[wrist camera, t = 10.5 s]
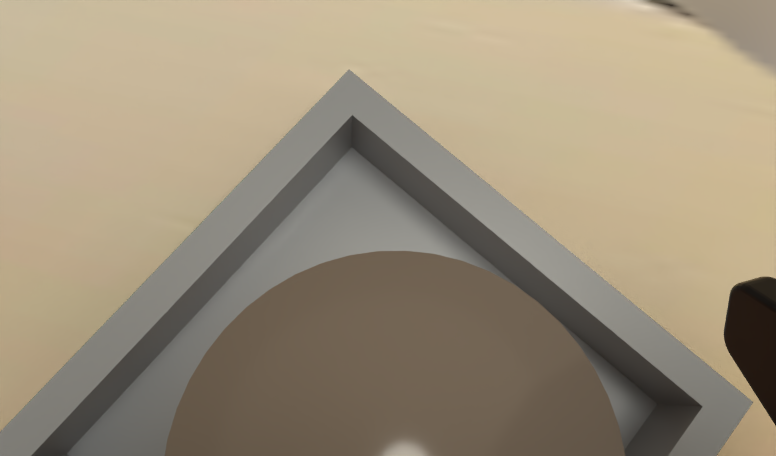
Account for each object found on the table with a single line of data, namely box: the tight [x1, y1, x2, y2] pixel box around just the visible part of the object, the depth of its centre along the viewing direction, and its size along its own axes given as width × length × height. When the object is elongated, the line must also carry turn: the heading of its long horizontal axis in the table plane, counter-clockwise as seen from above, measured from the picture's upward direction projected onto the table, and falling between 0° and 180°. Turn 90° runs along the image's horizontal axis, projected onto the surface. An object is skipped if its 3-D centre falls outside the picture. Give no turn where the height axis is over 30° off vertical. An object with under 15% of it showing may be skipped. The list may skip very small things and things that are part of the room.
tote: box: [0, 70, 753, 456], centre depth 16 cm, size 12×12×3 cm
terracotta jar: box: [165, 251, 625, 456], centre depth 12 cm, size 5×5×9 cm
